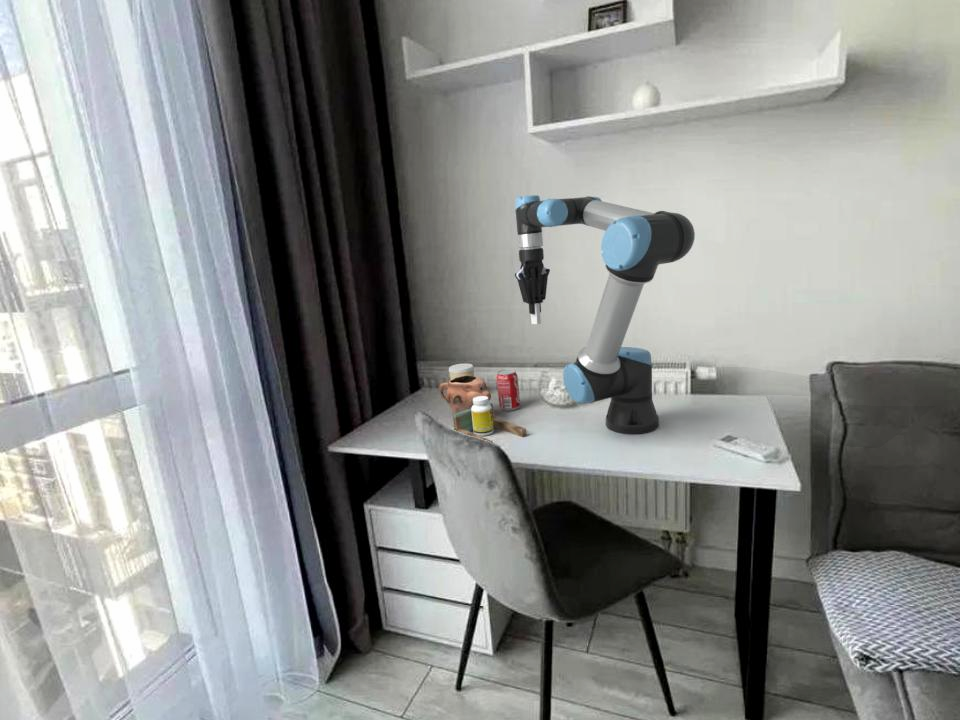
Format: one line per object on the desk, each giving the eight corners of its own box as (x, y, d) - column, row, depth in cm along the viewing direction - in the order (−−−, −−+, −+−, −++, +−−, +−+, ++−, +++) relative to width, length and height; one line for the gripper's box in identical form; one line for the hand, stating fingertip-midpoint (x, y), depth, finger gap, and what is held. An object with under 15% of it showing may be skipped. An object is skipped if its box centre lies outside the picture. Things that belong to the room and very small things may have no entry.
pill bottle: (496, 434, 166) (493, 399, 163) (477, 438, 164) (473, 402, 162) (490, 427, 172) (487, 393, 169) (471, 431, 170) (467, 397, 167)
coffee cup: (476, 392, 210) (473, 362, 207) (477, 400, 200) (474, 368, 198) (451, 395, 209) (448, 364, 207) (451, 402, 200) (448, 370, 197)
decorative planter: (430, 422, 181) (426, 382, 178) (449, 410, 192) (445, 372, 188) (485, 427, 172) (481, 385, 169) (501, 415, 182) (498, 374, 179)
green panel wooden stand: (526, 435, 162) (524, 413, 161) (488, 449, 154) (486, 427, 153) (491, 422, 176) (489, 402, 174) (454, 435, 168) (452, 414, 166)
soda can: (520, 410, 185) (518, 373, 182) (499, 412, 185) (496, 375, 182) (519, 404, 192) (517, 367, 189) (499, 405, 192) (496, 369, 189)
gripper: (538, 246, 177) (542, 319, 182) (506, 250, 169) (512, 326, 175) (554, 245, 171) (559, 321, 176) (523, 249, 163) (528, 328, 169)
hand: (536, 323), depth 175 cm, fingers closed
